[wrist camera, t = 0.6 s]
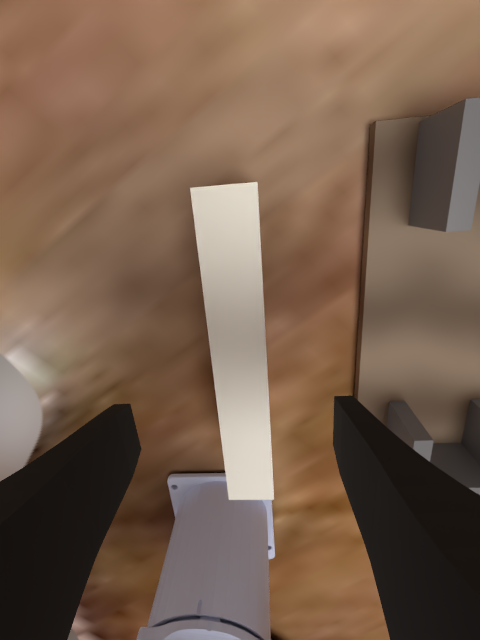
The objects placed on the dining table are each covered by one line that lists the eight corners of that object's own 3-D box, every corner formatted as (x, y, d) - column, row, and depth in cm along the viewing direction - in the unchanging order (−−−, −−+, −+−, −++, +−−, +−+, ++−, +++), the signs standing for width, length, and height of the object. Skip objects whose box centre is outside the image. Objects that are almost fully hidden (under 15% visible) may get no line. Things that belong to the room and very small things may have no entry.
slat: (270, 425, 23) (274, 499, 17) (236, 426, 23) (228, 499, 17) (257, 187, 17) (257, 181, 11) (212, 191, 17) (189, 187, 12)
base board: (495, 449, 22) (503, 458, 21) (350, 452, 23) (353, 460, 22) (589, 102, 15) (607, 97, 14) (370, 124, 15) (376, 121, 15)
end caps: (473, 456, 21) (512, 502, 18) (383, 457, 22) (405, 503, 19) (557, 107, 14) (647, 79, 11) (419, 121, 15) (465, 98, 11)
